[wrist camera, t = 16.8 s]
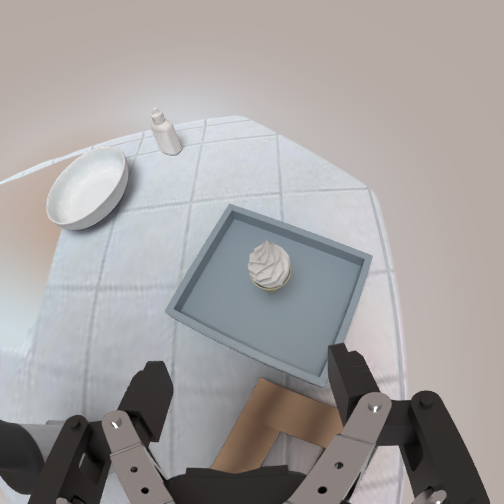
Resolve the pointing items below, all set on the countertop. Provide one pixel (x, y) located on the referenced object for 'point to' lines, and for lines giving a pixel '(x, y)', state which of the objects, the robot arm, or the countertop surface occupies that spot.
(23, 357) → the countertop surface
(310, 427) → the walnut board
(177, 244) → the countertop surface
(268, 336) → the slate blue tray
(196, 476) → the robot arm
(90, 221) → the serving bowl
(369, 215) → the countertop surface
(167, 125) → the eye dropper bottle
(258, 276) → the ice cream cone
